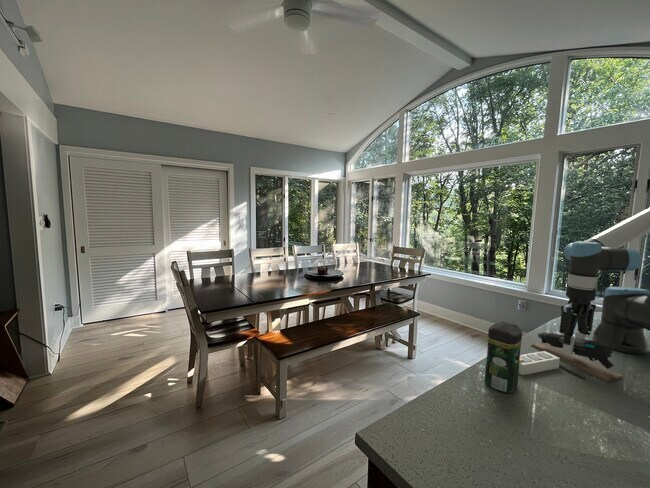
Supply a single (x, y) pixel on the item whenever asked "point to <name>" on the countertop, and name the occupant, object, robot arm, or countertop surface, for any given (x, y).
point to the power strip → (541, 363)
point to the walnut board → (579, 362)
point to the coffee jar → (503, 357)
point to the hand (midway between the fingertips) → (573, 351)
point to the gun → (582, 347)
